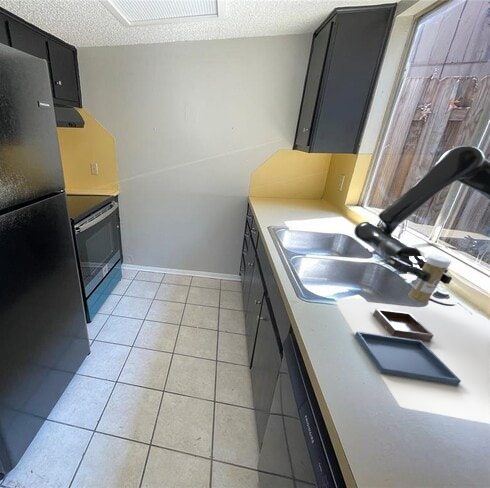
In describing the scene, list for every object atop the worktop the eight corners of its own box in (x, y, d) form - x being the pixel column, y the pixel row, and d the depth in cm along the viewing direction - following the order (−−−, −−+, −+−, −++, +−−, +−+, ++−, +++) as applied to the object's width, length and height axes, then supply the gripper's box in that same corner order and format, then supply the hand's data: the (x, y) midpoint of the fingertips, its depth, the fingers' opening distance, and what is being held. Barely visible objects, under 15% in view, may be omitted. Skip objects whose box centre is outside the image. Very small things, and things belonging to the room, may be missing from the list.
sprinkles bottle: (424, 305, 72) (448, 263, 66) (404, 296, 75) (425, 256, 70) (430, 300, 74) (454, 259, 69) (410, 292, 78) (431, 252, 72)
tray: (418, 345, 75) (421, 340, 74) (456, 386, 63) (461, 380, 62) (354, 336, 77) (356, 331, 76) (380, 374, 65) (383, 368, 64)
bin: (406, 319, 86) (409, 313, 84) (429, 342, 76) (433, 335, 75) (372, 315, 87) (375, 308, 86) (391, 337, 78) (395, 330, 77)
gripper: (378, 239, 84) (414, 264, 68) (427, 244, 82) (476, 271, 66) (369, 259, 87) (403, 288, 71) (416, 264, 85) (461, 294, 69)
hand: (438, 279), depth 69 cm, fingers closed on sprinkles bottle, 4 cm apart
